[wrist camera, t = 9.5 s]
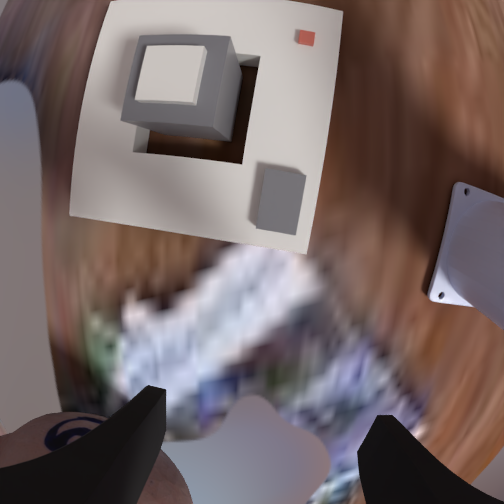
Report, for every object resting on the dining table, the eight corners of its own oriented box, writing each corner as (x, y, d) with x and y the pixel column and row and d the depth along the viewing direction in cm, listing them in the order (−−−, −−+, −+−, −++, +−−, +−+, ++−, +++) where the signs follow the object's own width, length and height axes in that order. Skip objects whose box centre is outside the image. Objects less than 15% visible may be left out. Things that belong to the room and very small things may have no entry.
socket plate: (336, 25, 15) (345, 6, 12) (302, 245, 18) (307, 257, 16) (123, 13, 15) (106, -3, 12) (86, 211, 18) (63, 217, 16)
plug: (242, 77, 16) (228, 30, 10) (231, 142, 17) (209, 124, 11) (177, 72, 16) (134, 30, 10) (165, 135, 17) (113, 118, 11)
